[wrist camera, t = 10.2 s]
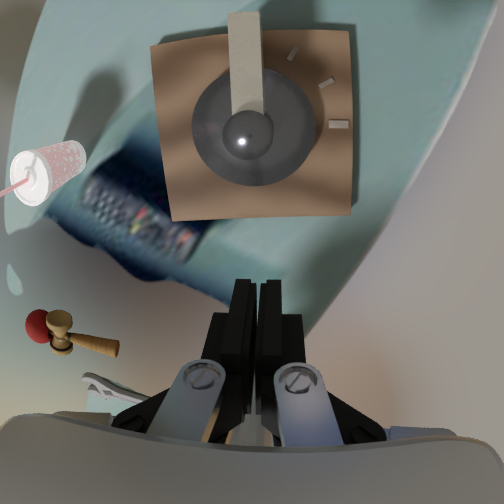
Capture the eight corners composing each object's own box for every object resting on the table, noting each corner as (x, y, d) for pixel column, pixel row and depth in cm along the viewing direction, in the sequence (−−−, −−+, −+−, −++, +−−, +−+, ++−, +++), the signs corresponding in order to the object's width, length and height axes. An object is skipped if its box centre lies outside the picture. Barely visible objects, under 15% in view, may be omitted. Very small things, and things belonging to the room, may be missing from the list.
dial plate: (347, 210, 36) (350, 216, 34) (176, 216, 37) (172, 222, 36) (345, 33, 26) (349, 30, 25) (155, 47, 28) (149, 46, 27)
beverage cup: (83, 127, 33) (4, 155, 20) (97, 173, 35) (26, 218, 23) (49, 143, 34) (-28, 176, 21) (62, 185, 36) (-8, 231, 24)
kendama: (120, 318, 48) (28, 295, 45) (111, 350, 43) (14, 323, 40) (123, 343, 53) (38, 321, 50) (116, 373, 48) (26, 348, 45)
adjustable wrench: (202, 408, 57) (200, 416, 56) (196, 422, 60) (195, 429, 59) (83, 368, 55) (80, 374, 53) (86, 385, 58) (83, 391, 56)
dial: (313, 182, 33) (322, 207, 26) (199, 184, 34) (181, 208, 27) (311, 26, 25) (321, 8, 18) (189, 32, 26) (165, 18, 19)
